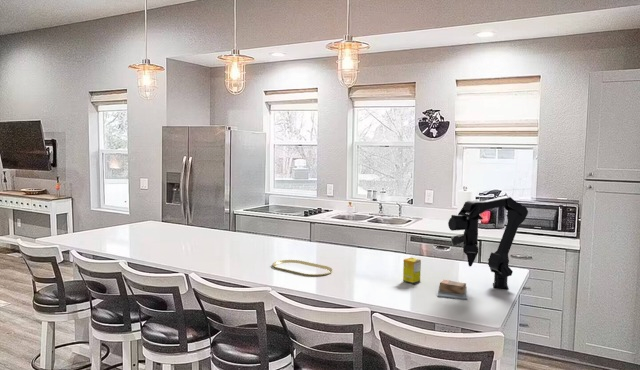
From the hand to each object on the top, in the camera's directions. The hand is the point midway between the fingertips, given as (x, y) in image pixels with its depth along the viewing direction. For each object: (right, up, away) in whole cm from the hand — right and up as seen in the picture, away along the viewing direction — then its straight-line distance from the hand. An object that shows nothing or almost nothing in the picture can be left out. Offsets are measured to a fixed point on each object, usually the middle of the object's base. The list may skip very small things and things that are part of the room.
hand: (469, 263), depth 212 cm
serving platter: (-77, -9, +34) cm, 84 cm away
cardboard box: (-9, -12, -3) cm, 15 cm away
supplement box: (-24, -11, +12) cm, 29 cm away
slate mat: (-9, -12, -3) cm, 15 cm away
